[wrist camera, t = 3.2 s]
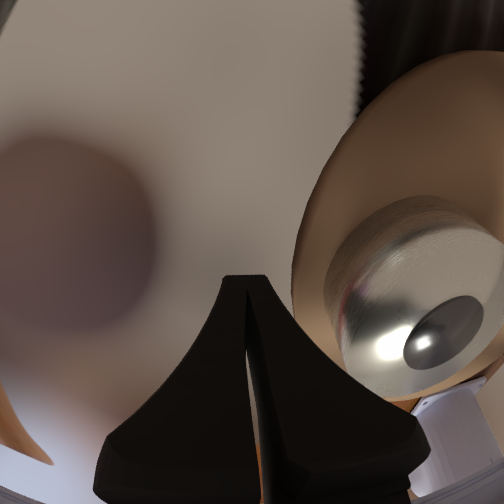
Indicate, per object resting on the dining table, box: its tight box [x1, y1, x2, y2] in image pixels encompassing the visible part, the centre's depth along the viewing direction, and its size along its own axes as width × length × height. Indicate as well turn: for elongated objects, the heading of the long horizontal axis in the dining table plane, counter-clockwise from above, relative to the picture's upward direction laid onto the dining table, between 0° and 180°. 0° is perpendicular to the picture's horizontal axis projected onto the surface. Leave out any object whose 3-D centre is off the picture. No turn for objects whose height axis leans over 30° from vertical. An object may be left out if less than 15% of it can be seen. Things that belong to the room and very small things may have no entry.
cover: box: [323, 195, 504, 397], centre depth 10 cm, size 7×7×3 cm
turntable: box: [291, 50, 504, 401], centre depth 12 cm, size 20×20×1 cm
